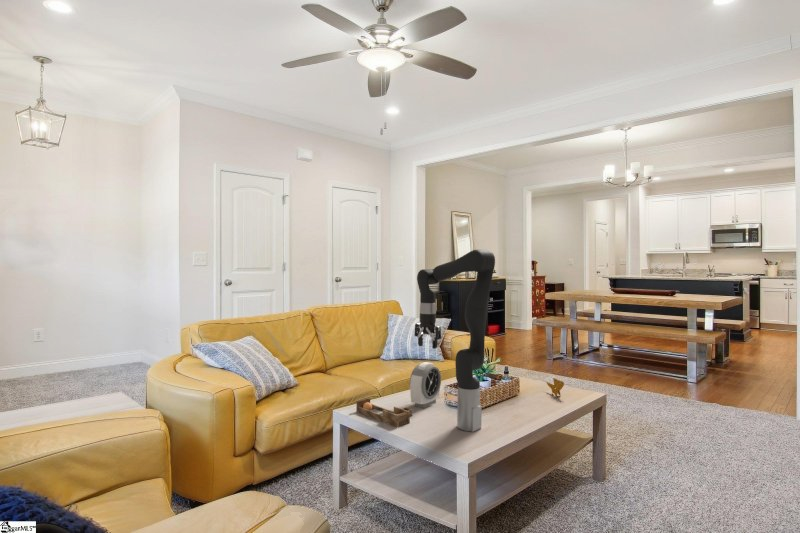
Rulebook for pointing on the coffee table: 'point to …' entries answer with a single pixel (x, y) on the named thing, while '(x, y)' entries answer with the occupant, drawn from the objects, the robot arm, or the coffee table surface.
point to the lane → (384, 413)
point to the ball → (367, 406)
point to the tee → (408, 410)
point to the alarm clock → (425, 384)
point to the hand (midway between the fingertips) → (427, 347)
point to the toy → (556, 386)
